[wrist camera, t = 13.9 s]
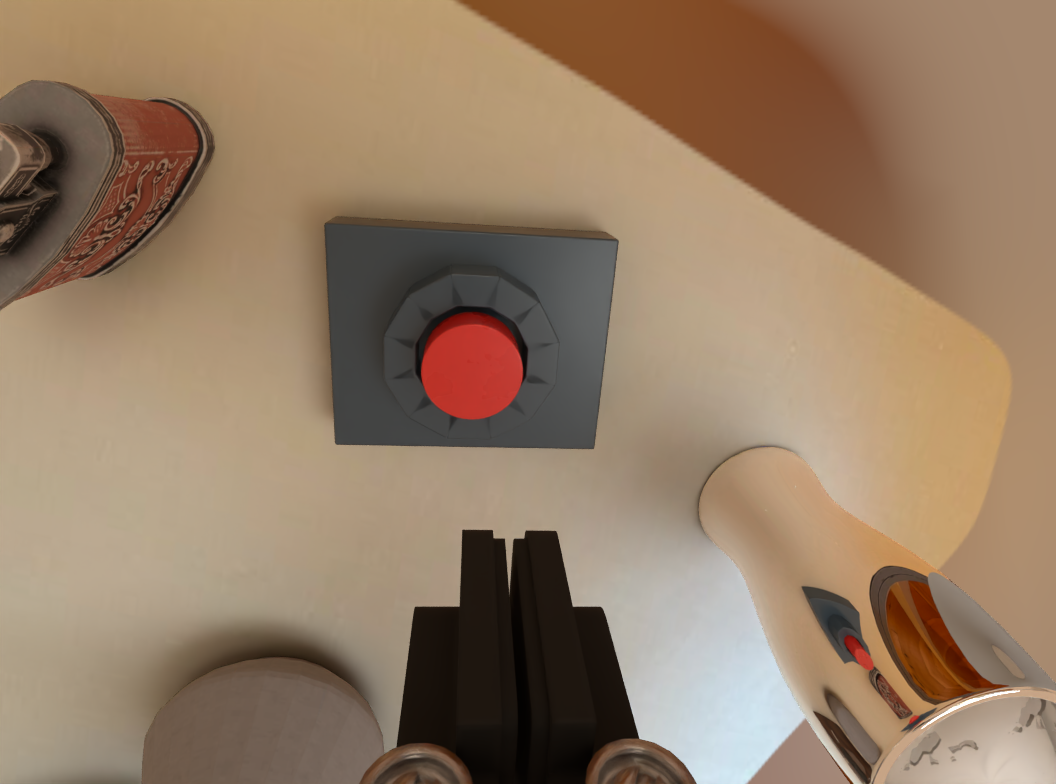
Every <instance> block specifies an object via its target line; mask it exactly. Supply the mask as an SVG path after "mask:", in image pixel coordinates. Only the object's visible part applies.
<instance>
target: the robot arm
mask: <svg viewBox="0 0 1056 784" xmlns="http://www.w3.org/2000/svg"><path fill="white" fill-rule="evenodd" d="M359 784H696V782H695V780H694V778H693V777H692V775H691V774H690V772H689V771H688V769H687V768H686V766H685V765H684V763H682V762H681V761H680V760H679V759H678V758H677V757H676V756H675V755H674V754H672V753H671V752H670V751H668V750H666V749H665V748H663V747H661V746H659V745H657V744H655V743H653V742H649V741H645V740H641V739H639V736H638V733H637V729H636V725H635V722H634V718H633V714H632V711H631V707H630V703H629V700H628V696H627V692H626V689H625V685H624V682H623V678H622V674H621V671H620V667H619V663H618V660H617V656H616V652H615V649H614V645H613V641H612V638H611V634H610V631H609V627H608V623H607V620H606V616H605V613H604V611H603V609H602V608H601V607H573V606H572V601H571V596H570V591H569V586H568V582H567V577H566V572H565V567H564V563H563V558H562V553H561V548H560V544H559V539H558V534H557V532H556V531H526V532H525V538H524V539H514V541H513V553H512V567H511V581H510V595H509V587H508V574H507V561H506V547H505V539H495V538H493V530H462V558H461V586H460V607H415V609H414V615H413V622H412V630H411V638H410V646H409V654H408V661H407V669H406V677H405V685H404V693H403V701H402V708H401V716H400V724H399V732H398V740H397V748H394V749H392V750H390V751H389V752H387V753H386V754H384V755H382V756H381V757H379V758H378V759H377V760H376V761H375V762H374V763H373V764H372V765H371V766H370V767H369V768H368V769H367V770H366V771H365V773H364V775H363V777H362V779H361V781H360V783H359Z"/></svg>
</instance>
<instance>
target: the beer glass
mask: <svg viewBox="0 0 1056 784" xmlns="http://www.w3.org/2000/svg"><path fill="white" fill-rule="evenodd" d="M699 517H700V522H701V525H702V527H703V529H704V531H705V533H706V534H707V536H708V537H709V538H710V539H711V541H712V542H713V543H714V544H715V545H716V546H717V547H718V548H719V549H720V550H722V551H723V552H724V553H725V554H726V555H727V556H728V557H729V558H730V559H731V560H732V561H733V562H734V563H735V565H736V566H737V568H738V569H739V571H740V572H741V574H742V576H743V578H744V580H745V582H746V585H747V587H748V590H749V592H750V595H751V598H752V601H753V603H754V606H755V609H756V612H757V615H758V618H759V620H760V623H761V626H762V629H763V631H764V634H765V637H766V639H767V642H768V645H769V647H770V649H771V652H772V654H773V656H774V659H775V661H776V663H777V666H778V668H779V670H780V672H781V675H782V677H783V679H784V681H785V683H786V684H787V686H788V688H789V690H790V692H791V693H792V695H793V697H794V699H795V701H796V702H797V704H798V706H799V708H800V710H801V711H802V713H803V714H804V716H805V718H806V719H807V721H808V722H809V724H810V725H811V727H812V729H813V730H814V732H815V733H816V735H817V736H818V738H819V740H820V741H821V743H822V744H823V746H824V747H825V748H826V750H827V751H828V752H829V754H830V755H831V757H832V758H833V760H834V761H835V763H836V764H837V766H838V767H839V769H840V770H841V771H842V773H843V774H844V776H845V777H846V778H847V780H848V781H849V782H850V784H1056V683H1055V682H1054V681H1053V680H1052V679H1051V678H1050V677H1049V676H1048V674H1047V673H1046V672H1045V671H1044V670H1043V669H1042V668H1041V667H1040V666H1039V665H1038V664H1037V663H1036V662H1035V660H1033V658H1032V657H1031V656H1030V655H1029V654H1028V653H1027V652H1026V651H1025V650H1024V649H1023V648H1022V647H1021V646H1020V645H1019V644H1018V643H1017V642H1016V641H1015V640H1014V639H1013V638H1012V637H1011V636H1010V635H1009V633H1007V632H1006V630H1005V629H1004V628H1003V627H1002V626H1001V625H1000V624H999V623H997V622H996V621H995V620H994V619H993V618H992V617H991V616H990V615H989V614H988V613H987V612H986V611H985V610H984V609H983V608H982V607H981V606H980V605H979V604H977V602H975V601H974V600H973V599H972V598H971V597H970V596H969V595H968V594H966V593H965V592H964V591H963V590H962V589H960V588H959V587H958V586H957V585H956V584H954V583H953V582H952V581H951V580H950V579H948V578H947V577H946V576H945V575H944V574H943V573H941V572H940V571H939V570H937V569H936V568H934V567H933V566H931V565H930V564H929V563H927V562H926V561H924V560H923V559H921V558H920V557H918V556H917V555H916V554H914V553H913V552H911V551H910V550H908V549H907V548H905V547H904V546H902V545H900V544H899V543H897V542H895V541H894V540H892V539H891V538H889V537H887V536H886V535H884V534H883V533H881V532H879V531H878V530H876V529H874V528H873V527H871V526H869V525H868V524H866V523H864V522H863V521H861V520H859V519H858V518H856V517H855V516H853V515H852V514H850V513H849V512H847V511H846V510H844V509H843V508H842V507H841V506H839V505H838V504H837V503H836V502H835V501H834V500H833V499H832V498H831V497H830V496H829V494H828V493H827V492H826V490H825V489H824V487H823V486H822V484H821V482H820V481H819V479H818V477H817V476H816V474H815V473H814V471H813V470H812V468H811V467H810V466H809V465H808V464H807V462H806V461H805V460H804V459H802V458H801V457H800V456H798V455H797V454H795V453H793V452H791V451H788V450H786V449H782V448H777V447H759V448H753V449H750V450H746V451H744V452H741V453H739V454H737V455H735V456H733V457H731V458H730V459H728V460H727V461H725V462H724V463H723V464H721V465H720V466H719V467H718V468H717V469H716V470H715V471H714V472H713V474H712V475H711V476H710V477H709V479H708V480H707V482H706V484H705V486H704V488H703V490H702V493H701V496H700V500H699Z"/></svg>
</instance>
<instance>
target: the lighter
mask: <svg viewBox="0 0 1056 784" xmlns="http://www.w3.org/2000/svg"><path fill="white" fill-rule="evenodd" d="M214 149H215V146H214V137H213V134H212V132H211V130H210V128H209V125H208V123H207V122H206V121H205V120H204V118H203V117H202V116H201V115H200V114H199V112H197V111H196V110H195V109H193V108H192V107H191V106H189V105H188V104H186V103H183V102H181V101H178V100H176V99H171V98H163V97H150V98H147V99H145V100H134V99H126V98H118V97H111V96H103V95H95V94H89V93H88V92H87V91H85V90H83V89H80V88H78V87H75V86H72V85H70V84H67V83H60V82H54V81H39V80H31V81H28V82H26V83H23V84H21V85H19V86H17V87H16V88H14V89H13V90H12V91H10V92H9V93H8V94H6V95H5V96H4V97H2V98H1V99H0V311H1V310H2V309H3V308H5V307H6V306H8V305H9V304H10V303H12V302H13V301H15V300H18V299H21V298H24V297H27V296H29V295H32V294H35V293H38V292H41V291H43V290H46V289H49V288H52V287H55V286H57V285H60V284H63V283H66V282H69V281H71V280H74V279H78V280H91V279H93V278H96V277H99V276H101V275H104V274H107V273H109V272H111V271H113V270H114V269H116V268H117V267H119V266H120V265H121V264H123V263H124V262H126V261H127V260H129V259H130V258H131V257H133V256H134V255H136V254H137V253H139V252H140V251H141V250H142V249H143V248H145V247H146V246H147V245H148V244H149V243H150V242H151V241H152V240H153V239H154V238H155V237H156V236H157V235H158V234H159V233H160V232H162V231H163V230H164V229H165V228H166V227H167V226H168V225H169V224H170V223H171V221H172V220H173V219H174V217H175V216H176V215H177V213H178V212H179V211H180V209H181V208H182V207H183V205H184V204H185V203H186V201H187V200H188V199H189V197H190V196H191V195H192V193H193V192H194V190H195V188H196V186H197V185H198V183H199V181H200V179H201V177H202V176H203V174H204V172H205V170H206V168H207V166H208V165H209V163H210V161H211V159H212V157H213V153H214Z"/></svg>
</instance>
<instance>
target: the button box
mask: <svg viewBox="0 0 1056 784" xmlns="http://www.w3.org/2000/svg"><path fill="white" fill-rule="evenodd" d="M324 227H325V248H326V269H327V289H328V310H329V330H330V351H331V371H332V392H333V412H334V433H335V443H336V444H337V445H391V446H448V447H505V448H561V449H594V446H595V437H596V429H597V420H598V412H599V404H600V395H601V387H602V378H603V370H604V361H605V353H606V344H607V336H608V328H609V319H610V311H611V302H612V294H613V285H614V277H615V268H616V260H617V252H618V243H619V241H618V240H617V239H616V238H614V237H613V236H611V235H610V234H608V233H606V232H595V231H578V230H561V229H544V228H526V227H509V226H492V225H475V224H457V223H440V222H423V221H406V220H388V219H371V218H354V217H335V218H333V219H332V220H330V221H328V222H327V223H325V225H324ZM463 312H480V313H484V314H488V315H490V316H493V317H495V318H496V319H498V320H500V321H501V322H502V323H504V324H505V325H506V326H507V327H508V328H509V330H510V331H511V332H512V334H513V336H514V337H515V340H516V342H517V345H518V349H519V352H520V356H521V360H522V364H523V378H522V383H521V387H520V389H519V391H518V393H517V395H516V397H515V398H514V399H513V401H512V402H511V403H510V404H509V405H508V406H507V407H506V408H504V409H503V410H502V411H500V412H498V413H497V414H494V415H492V416H490V417H486V418H482V419H462V418H458V417H455V416H452V415H450V414H448V413H446V412H444V411H442V410H441V409H440V408H438V407H437V406H436V405H435V404H434V403H433V402H432V401H431V399H430V398H429V396H428V395H427V393H426V391H425V389H424V386H423V383H422V378H421V365H422V360H423V354H424V349H425V345H426V342H427V339H428V337H429V335H430V334H431V332H432V331H433V330H434V328H435V327H436V326H437V325H438V324H439V323H441V322H442V321H443V320H445V319H447V318H448V317H450V316H453V315H455V314H459V313H463Z"/></svg>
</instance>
